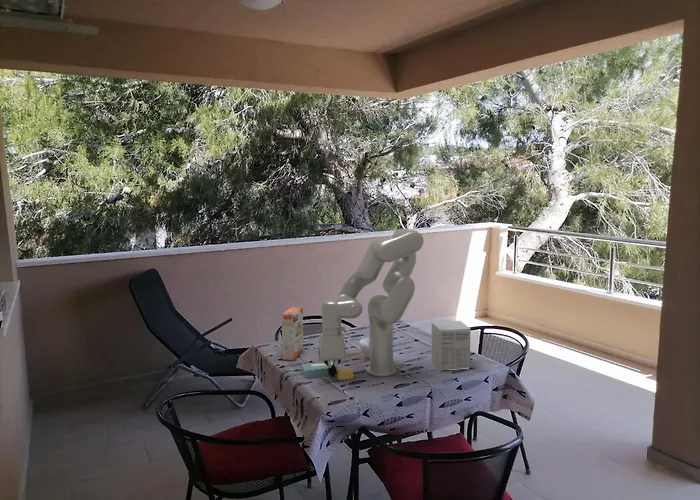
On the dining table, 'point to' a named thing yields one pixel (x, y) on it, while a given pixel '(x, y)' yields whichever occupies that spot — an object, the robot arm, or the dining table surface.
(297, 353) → the cracker box
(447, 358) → the supplement box
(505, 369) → the dining table surface
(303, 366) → the teal labeled router
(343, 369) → the yellow labeled box
